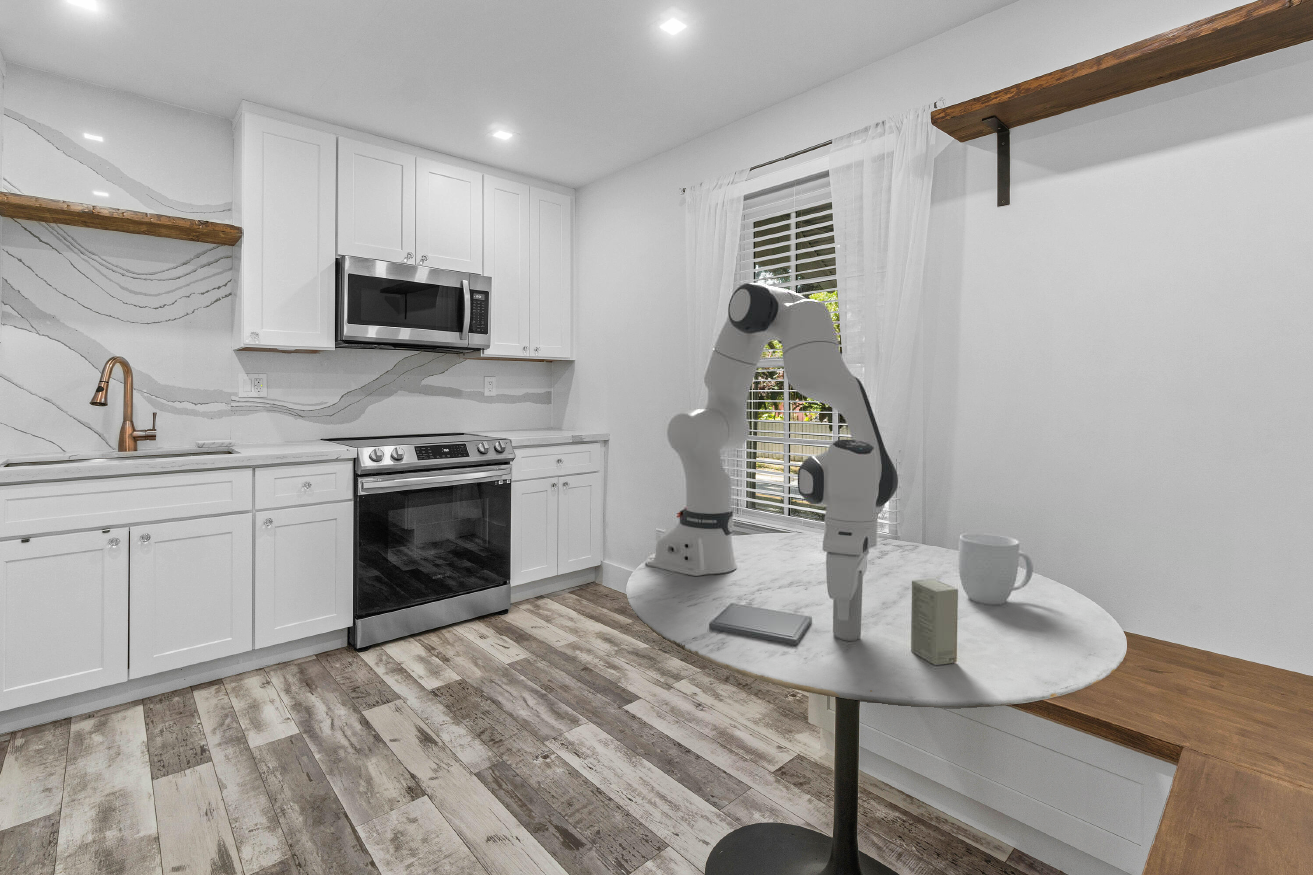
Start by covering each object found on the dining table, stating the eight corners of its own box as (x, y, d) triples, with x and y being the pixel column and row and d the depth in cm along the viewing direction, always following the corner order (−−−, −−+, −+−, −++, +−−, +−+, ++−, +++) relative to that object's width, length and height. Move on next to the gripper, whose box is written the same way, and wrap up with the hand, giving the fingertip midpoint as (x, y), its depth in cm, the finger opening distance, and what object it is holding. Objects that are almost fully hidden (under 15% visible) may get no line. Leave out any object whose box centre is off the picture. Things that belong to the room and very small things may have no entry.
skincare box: (957, 663, 98) (961, 589, 97) (933, 666, 97) (937, 591, 96) (930, 647, 104) (933, 577, 103) (908, 650, 103) (910, 579, 102)
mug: (1013, 591, 134) (1016, 532, 133) (1047, 609, 123) (1050, 545, 122) (946, 591, 133) (949, 532, 132) (974, 609, 123) (977, 545, 122)
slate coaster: (709, 628, 111) (709, 622, 111) (731, 607, 122) (731, 602, 122) (796, 645, 104) (796, 639, 104) (811, 621, 115) (811, 616, 115)
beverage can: (846, 643, 105) (848, 575, 104) (826, 633, 109) (828, 568, 109) (866, 638, 107) (869, 572, 106) (846, 629, 112) (848, 565, 111)
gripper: (842, 520, 118) (840, 590, 119) (820, 543, 99) (818, 626, 100) (876, 523, 115) (874, 595, 116) (860, 548, 97) (858, 633, 98)
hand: (848, 609), depth 108 cm, fingers open, 8 cm apart
